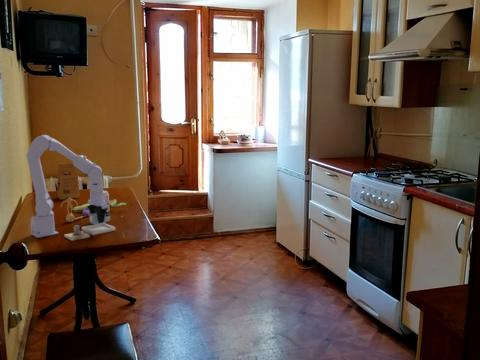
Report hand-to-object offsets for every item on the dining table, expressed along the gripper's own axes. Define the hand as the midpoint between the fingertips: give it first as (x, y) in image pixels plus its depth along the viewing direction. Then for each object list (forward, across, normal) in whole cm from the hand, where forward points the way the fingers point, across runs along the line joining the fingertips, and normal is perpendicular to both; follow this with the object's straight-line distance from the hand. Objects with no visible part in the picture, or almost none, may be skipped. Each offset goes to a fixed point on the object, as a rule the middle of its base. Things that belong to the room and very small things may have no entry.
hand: (98, 221), depth 209 cm
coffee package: (+4, +81, -20) cm, 84 cm away
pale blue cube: (0, 0, 0) cm, 0 cm away
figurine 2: (+5, +37, -19) cm, 42 cm away
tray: (+4, 0, 0) cm, 4 cm away
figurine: (+4, +25, +2) cm, 26 cm away
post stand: (+4, -3, +12) cm, 13 cm away
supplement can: (+4, +14, -8) cm, 17 cm away
